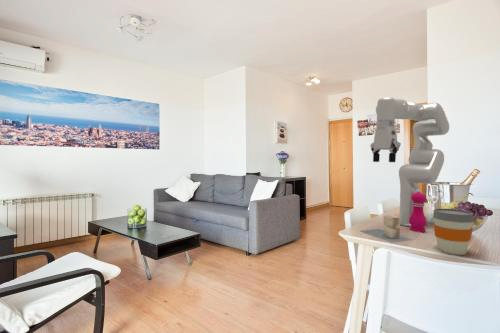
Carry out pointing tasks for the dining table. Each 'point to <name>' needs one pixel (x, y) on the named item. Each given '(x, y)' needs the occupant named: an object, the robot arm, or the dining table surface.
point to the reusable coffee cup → (453, 230)
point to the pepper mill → (418, 212)
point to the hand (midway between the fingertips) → (383, 162)
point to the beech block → (391, 227)
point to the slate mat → (379, 234)
